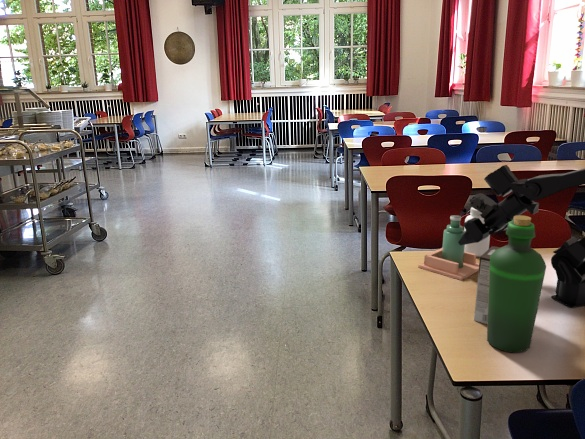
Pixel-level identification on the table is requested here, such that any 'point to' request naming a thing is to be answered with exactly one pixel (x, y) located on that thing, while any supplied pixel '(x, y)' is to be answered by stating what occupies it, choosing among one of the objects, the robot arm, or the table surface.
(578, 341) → the table surface
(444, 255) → the bottle
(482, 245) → the pill bottle
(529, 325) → the bottle
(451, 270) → the u rest
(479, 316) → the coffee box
